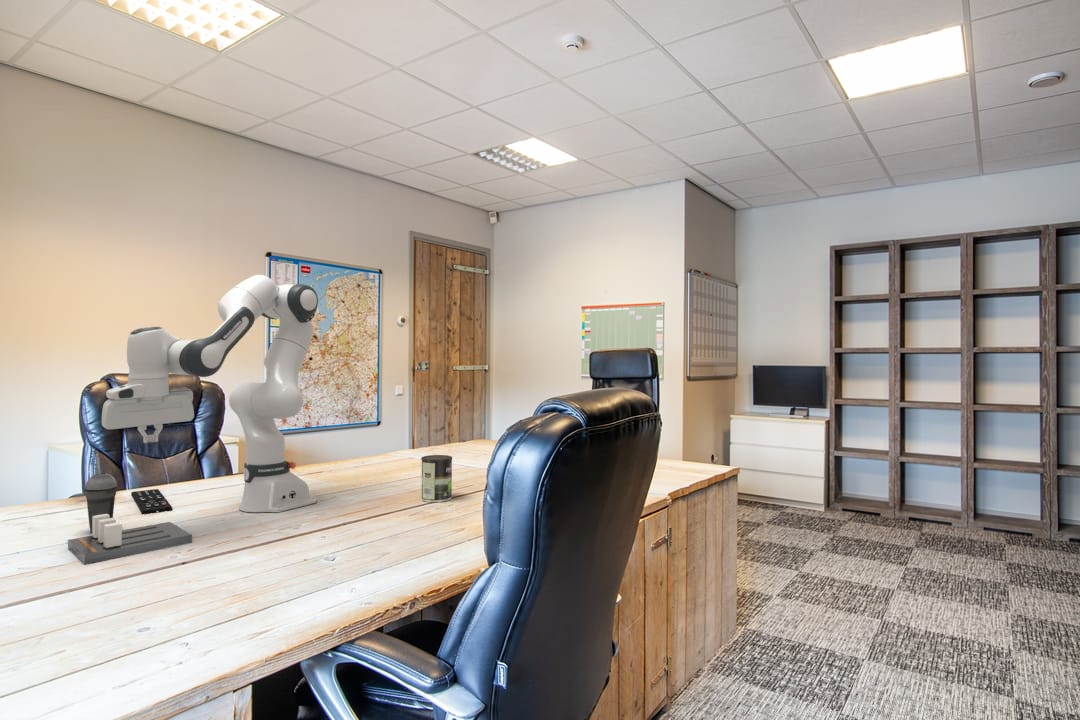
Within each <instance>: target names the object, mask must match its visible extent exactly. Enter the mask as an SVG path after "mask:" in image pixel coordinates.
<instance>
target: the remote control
mask: <svg viewBox="0 0 1080 720" xmlns="http://www.w3.org/2000/svg"><path fill="white" fill-rule="evenodd" d="M130 493H131V497H132V499H133V500H134V503H135V504H136V506H137V508H138V510H139V511H140V513H141V515H143V514H144V515H151V513H152V514H158V513H166V512H165V511H167V512H172V511H173V506H172V505H171V504H170V502H169V501H168V500H167V498H166V497H165V496H164V495H163V493H162V492H161V491H160V490H159V488H154V489H144V490H136V491H131V492H130Z"/></svg>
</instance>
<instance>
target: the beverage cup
mask: <svg viewBox="0 0 1080 720" xmlns="http://www.w3.org/2000/svg"><path fill="white" fill-rule="evenodd" d="M100 464H101V463H100V456H96V465H97V473H96V474H93V475H92V476H90V477H89V478H88V480H86V481H87V482H86V483H85V486H84V490H83V491H84V495H85V498H86V505H87V506H86V507H87V515H88V524H89V525H88V526H89V532H90V534H92V516H96V515H102V514H108V515H110V518H114V510H115V500H116V495H117V490H118V488H119V487H118V483H117V480H116V478H115V476H113V475H111V474H110V473H107V472H101V465H100Z"/></svg>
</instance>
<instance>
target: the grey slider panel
mask: <svg viewBox="0 0 1080 720" xmlns="http://www.w3.org/2000/svg"><path fill="white" fill-rule="evenodd" d="M191 543H193V534H192V533H191V532H188V531H187V530H185V529H184V528H181V527H180V526H178V525H176V524H175V523H173V522H171V521H165V522H161V523H156V524H149V525H145V526H144V525H143V526H138V527H133V528H127V529H122V545H120V546H114V547H109V548H106V547H104V542H103V543H100V542H99V541H98V538H94V537H93V536H92V535H88V536H82V537H77V538H72V539H71V538H70V539H67V549H68V550H69V551H70V552H71V553H73V555H74V556H75V557H76V558H77V559H78V560H79V561H80V562H82V563H83V565H90V564H94V563H99V562H103V561H108V560H112V559H113V560H114V559H117V558H123V557H127V556H132V555H133V556H134V555H138V554H142V553H147V552H152V551H157V550H162V549H166V548H171V547H172V548H173V547H177V546H182V545H187V544H191Z"/></svg>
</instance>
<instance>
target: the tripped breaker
mask: <svg viewBox="0 0 1080 720" xmlns="http://www.w3.org/2000/svg"><path fill="white" fill-rule="evenodd" d="M122 526H123V525H122V523H121V521H118V522H116V523H111V524H105V525H104V547H106V548H109V547H114V546H120V545H122V530H123V527H122Z"/></svg>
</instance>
